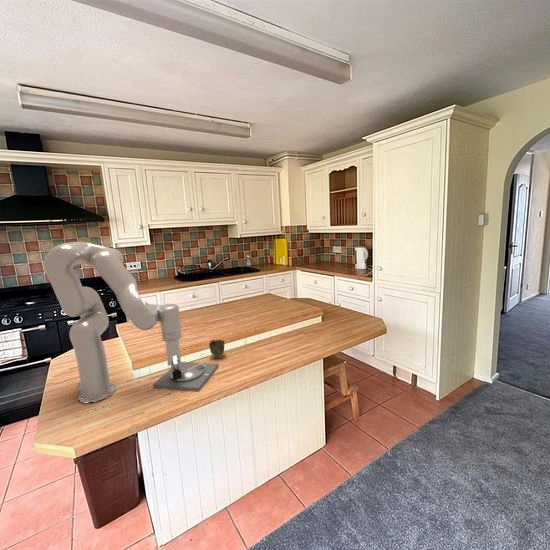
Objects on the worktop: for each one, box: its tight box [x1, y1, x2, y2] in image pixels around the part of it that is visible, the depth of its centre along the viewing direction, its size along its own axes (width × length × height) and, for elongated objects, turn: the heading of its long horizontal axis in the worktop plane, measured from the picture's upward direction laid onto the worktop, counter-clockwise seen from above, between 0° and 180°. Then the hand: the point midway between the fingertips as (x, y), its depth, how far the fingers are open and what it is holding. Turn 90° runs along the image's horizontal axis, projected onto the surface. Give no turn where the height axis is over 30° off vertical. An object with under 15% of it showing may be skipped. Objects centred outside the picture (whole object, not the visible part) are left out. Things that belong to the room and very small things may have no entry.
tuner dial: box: [170, 360, 206, 382], centre depth 127 cm, size 17×14×7 cm
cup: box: [208, 339, 225, 360], centre depth 143 cm, size 8×7×8 cm
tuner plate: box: [152, 361, 220, 392], centre depth 126 cm, size 20×20×2 cm
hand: (176, 373), depth 121 cm, fingers open, 9 cm apart
